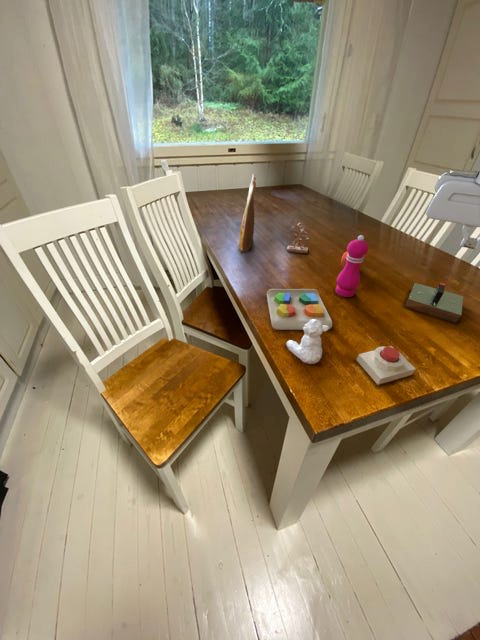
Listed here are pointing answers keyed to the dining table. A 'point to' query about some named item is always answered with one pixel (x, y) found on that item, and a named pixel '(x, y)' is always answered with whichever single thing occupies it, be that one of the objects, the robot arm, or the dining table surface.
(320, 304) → the puzzle board
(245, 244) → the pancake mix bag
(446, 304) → the panel
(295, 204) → the dining table surface
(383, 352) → the button
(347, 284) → the pepper mill
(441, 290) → the black switch lever
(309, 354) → the sitting furry creature
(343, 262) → the apple
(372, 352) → the button block
